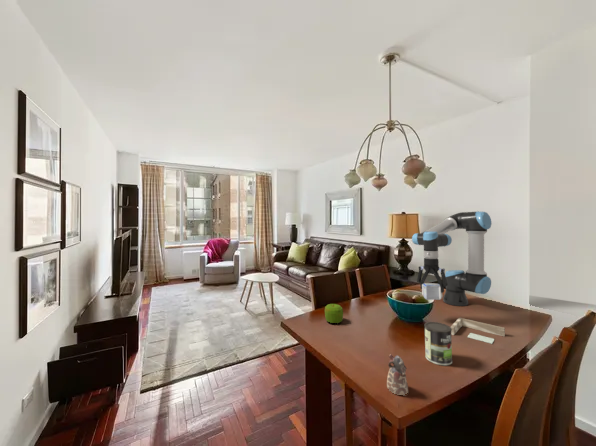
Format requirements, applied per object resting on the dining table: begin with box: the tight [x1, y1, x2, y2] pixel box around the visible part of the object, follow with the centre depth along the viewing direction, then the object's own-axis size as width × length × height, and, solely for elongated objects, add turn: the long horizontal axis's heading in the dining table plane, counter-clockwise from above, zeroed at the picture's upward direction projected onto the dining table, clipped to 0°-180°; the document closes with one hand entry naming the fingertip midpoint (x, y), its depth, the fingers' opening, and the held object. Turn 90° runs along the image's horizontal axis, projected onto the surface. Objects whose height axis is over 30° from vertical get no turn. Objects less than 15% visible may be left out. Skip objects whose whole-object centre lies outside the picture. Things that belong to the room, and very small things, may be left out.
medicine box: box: [423, 282, 442, 301], centre depth 145 cm, size 8×4×9 cm, turn 82°
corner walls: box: [450, 317, 506, 337], centre depth 128 cm, size 17×20×4 cm
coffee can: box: [424, 321, 453, 366], centre depth 107 cm, size 10×10×14 cm
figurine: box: [386, 353, 409, 396], centre depth 89 cm, size 7×7×12 cm
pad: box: [467, 332, 495, 345], centre depth 124 cm, size 6×10×1 cm, turn 43°
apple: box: [324, 303, 344, 324], centre depth 150 cm, size 11×11×11 cm
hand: (432, 296), depth 145 cm, fingers closed on medicine box, 9 cm apart
